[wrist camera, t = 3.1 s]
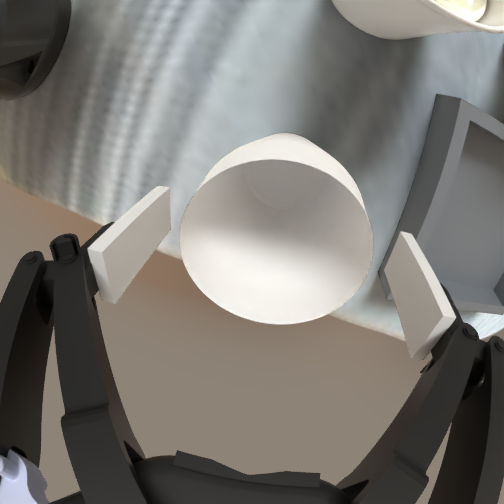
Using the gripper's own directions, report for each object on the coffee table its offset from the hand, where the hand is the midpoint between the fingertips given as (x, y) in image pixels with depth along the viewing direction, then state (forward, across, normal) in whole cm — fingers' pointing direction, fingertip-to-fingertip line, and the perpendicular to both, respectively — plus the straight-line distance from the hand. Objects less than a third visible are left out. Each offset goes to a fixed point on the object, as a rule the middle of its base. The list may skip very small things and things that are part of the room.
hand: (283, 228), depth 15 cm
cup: (+9, 0, 0) cm, 9 cm away
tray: (+9, +20, +1) cm, 22 cm away
